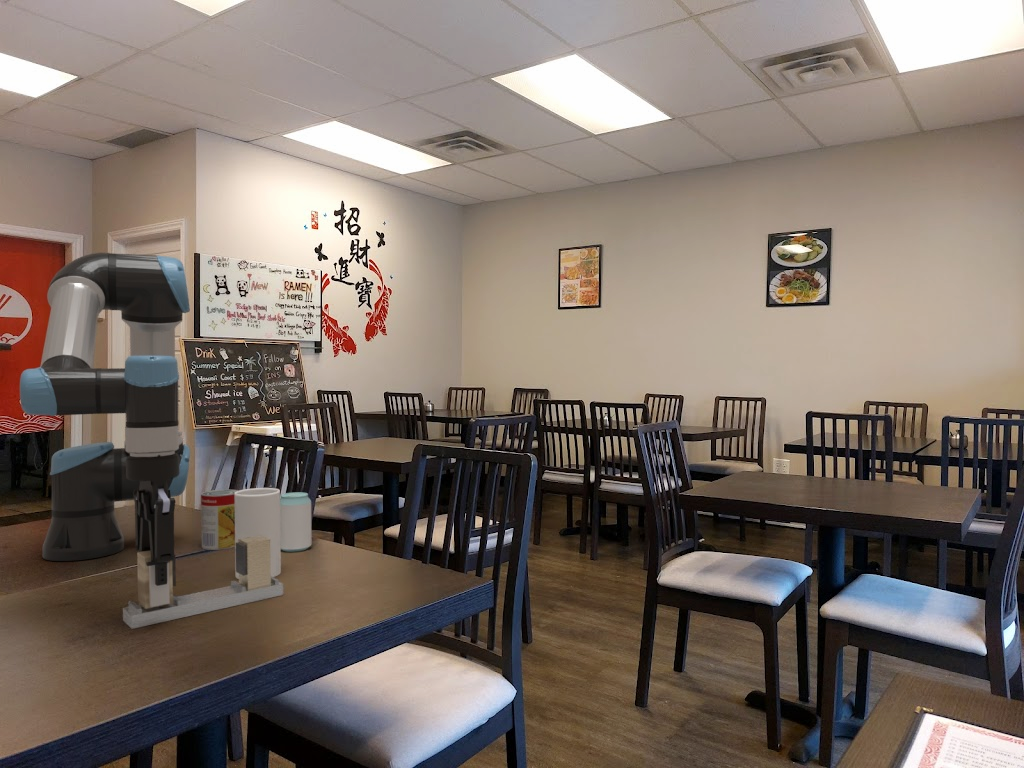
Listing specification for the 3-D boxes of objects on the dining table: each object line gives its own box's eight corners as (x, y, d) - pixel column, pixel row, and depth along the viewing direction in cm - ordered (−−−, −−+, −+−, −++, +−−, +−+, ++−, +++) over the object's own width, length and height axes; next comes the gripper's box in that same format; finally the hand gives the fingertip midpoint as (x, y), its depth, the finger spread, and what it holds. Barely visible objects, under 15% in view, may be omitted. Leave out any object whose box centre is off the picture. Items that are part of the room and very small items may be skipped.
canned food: (246, 542, 163) (246, 490, 163) (225, 550, 155) (224, 495, 155) (216, 540, 165) (215, 488, 164) (193, 549, 157) (193, 494, 157)
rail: (123, 620, 112) (122, 556, 112) (271, 588, 128) (270, 533, 128) (131, 628, 108) (130, 563, 108) (283, 594, 124) (282, 537, 124)
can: (306, 552, 153) (305, 497, 153) (273, 552, 153) (272, 497, 153) (315, 544, 160) (315, 491, 160) (284, 544, 160) (283, 491, 160)
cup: (266, 581, 132) (265, 495, 132) (226, 579, 134) (225, 494, 134) (288, 569, 140) (287, 488, 140) (250, 567, 142) (250, 487, 142)
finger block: (145, 608, 110) (144, 557, 110) (138, 602, 113) (137, 552, 113) (176, 602, 113) (176, 552, 113) (168, 596, 116) (168, 547, 116)
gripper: (196, 456, 108) (198, 608, 109) (161, 447, 121) (163, 584, 122) (142, 460, 103) (144, 620, 104) (112, 450, 116) (114, 593, 116)
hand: (155, 600), depth 113 cm, fingers closed on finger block, 4 cm apart
